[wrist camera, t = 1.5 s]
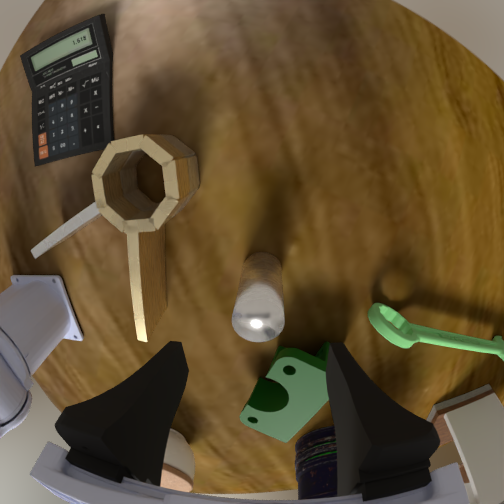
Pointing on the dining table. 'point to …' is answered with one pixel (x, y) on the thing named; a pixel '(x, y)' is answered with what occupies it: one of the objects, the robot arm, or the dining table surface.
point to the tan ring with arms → (138, 214)
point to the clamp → (288, 393)
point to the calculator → (71, 91)
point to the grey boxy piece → (475, 441)
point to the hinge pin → (259, 299)
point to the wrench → (426, 333)
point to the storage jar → (317, 464)
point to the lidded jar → (178, 464)
